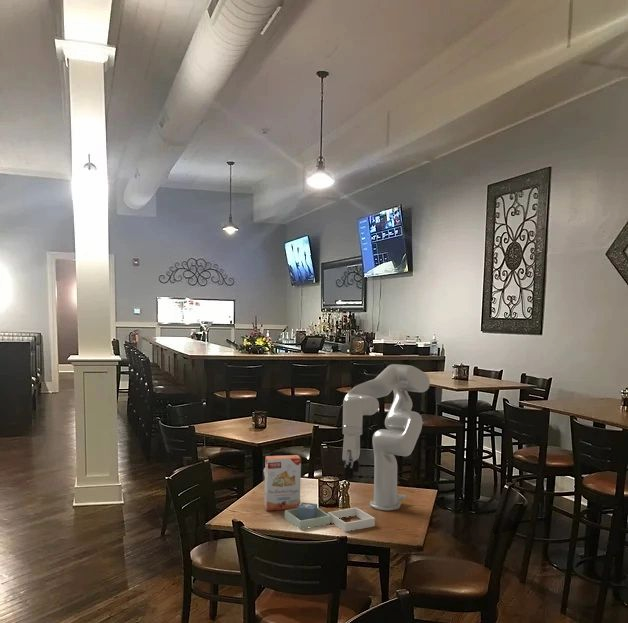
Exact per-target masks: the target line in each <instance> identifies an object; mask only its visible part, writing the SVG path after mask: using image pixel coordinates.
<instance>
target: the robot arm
mask: <svg viewBox="0 0 628 623" xmlns="http://www.w3.org/2000/svg"><path fill="white" fill-rule="evenodd" d="M430 381H431V380H430V377H429V375H428V374H427V373H426V372H425V371H422V370H421V369H419V368H417V367H416V366H413V365H408V364H395V363H394V364H393V363H391V364H389V365H387V366H386V368H384V369H383V370H382V371H381V372H380V373H379V374H378V375H377V376H376V377H375V378H374V379H371V380H368V381H364V382H362V383H359V384H358V385H355V386H353V388H351V389H350V390H349V391H348V392H347V394H345V396H344V398H343V403H342V435H344V436H343V443H342V444H343V445H342V457H341V459H342V461H343V462H344V479H349V480H353V478H354V472H355V473H358V472H359V469H360V467H359V466H360V465H359V464H360V462H359V459H360V458H359V457H360V453H361V436H362V435H363V419H364V418H363V416H372V415H374V414H376V413H377V412H378V410H379V408H380V403H379V400H378V399H379V398H383V397H387V396H388V395H390V393H391V392H392V391H393V401H392V403H391V405H390V407H389V410H388V412H387V414H386V417H385V419H384V426H385V429H384V428H381V429H378V430H376V431H374V433H373V434H372V437H371V438H372V440H371V441H372V443H371V444H372V448H373V455H374V456H373V457H374V462H373V463H374V468H373V472H374V474H373V499H371V500H370V501H369V505H370V507H372V509H376V510H380V511H395V510H396V511H397V510H399V509H400V508H401V502H400V501H402V500H406V499H407V495H406V494H400V493H398V461H397V459H396V456H401V457H408V456H411V454H412V452H413V451H414V448H415V446H416V444H417V441H418V439H419V437H420V434H421V432H422V428H423V418H422V415H421V414H420V413H419V412H417V411H413V410H412V408H413V401H412V398H411V397H410V395H409V392H413V393H425V392H426V391H428V390H429V389H430V385H431V384H430V383H431V382H430Z"/></svg>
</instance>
